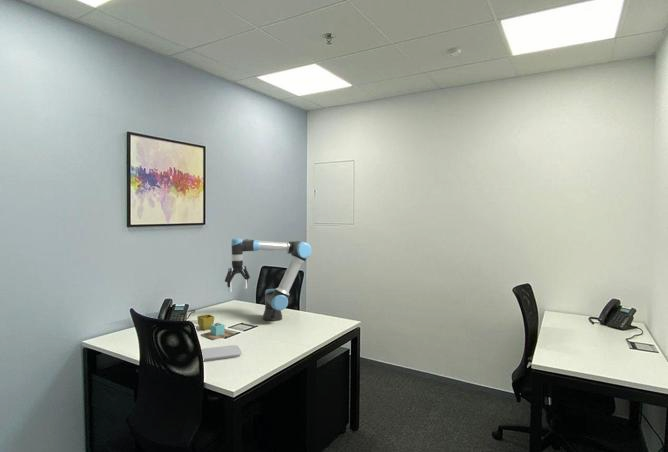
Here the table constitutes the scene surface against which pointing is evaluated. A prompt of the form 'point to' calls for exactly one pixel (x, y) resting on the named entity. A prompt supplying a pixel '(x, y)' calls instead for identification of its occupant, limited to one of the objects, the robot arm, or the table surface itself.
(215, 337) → the post stand
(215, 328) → the light blue cube
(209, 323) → the flower pot
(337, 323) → the table surface
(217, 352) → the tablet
